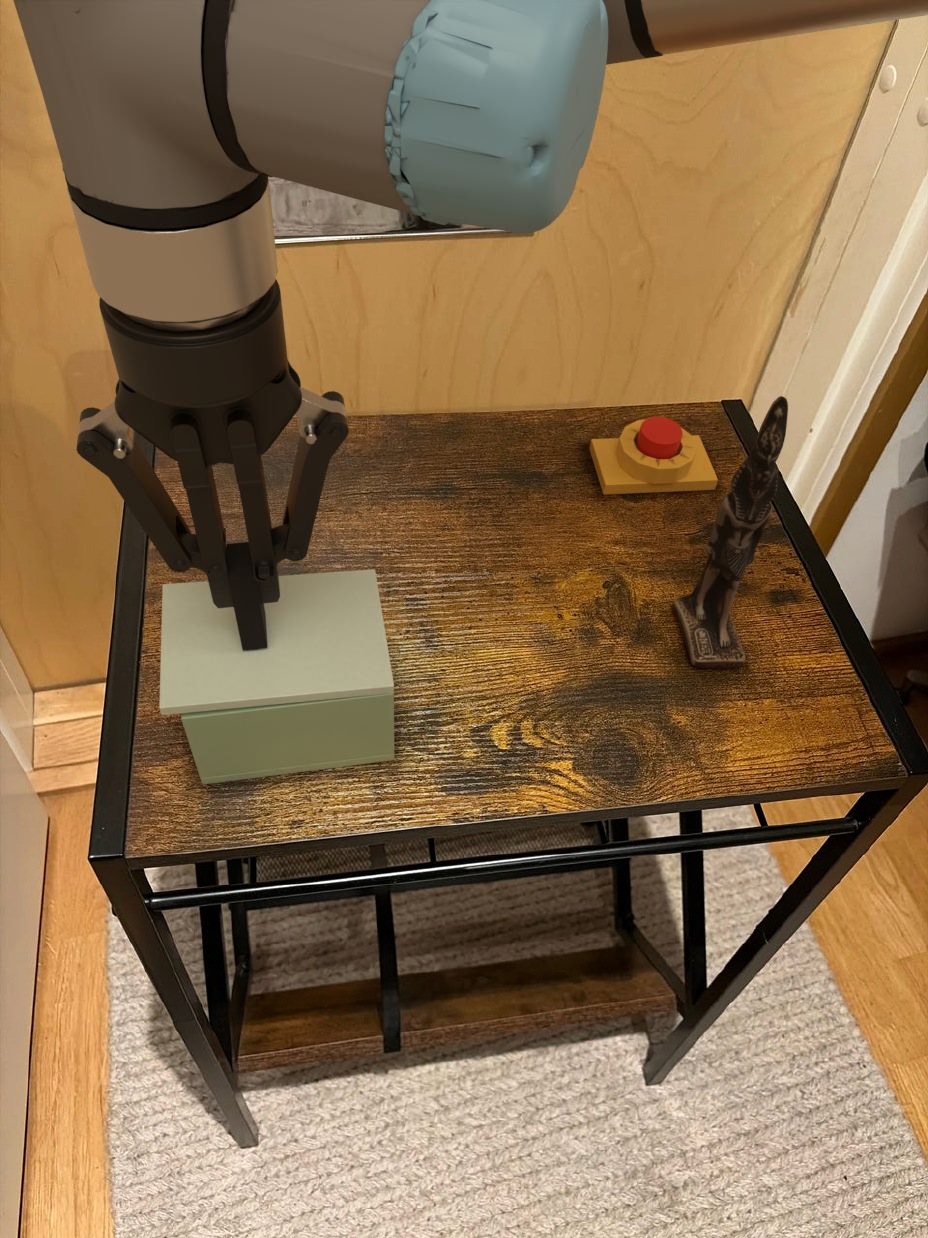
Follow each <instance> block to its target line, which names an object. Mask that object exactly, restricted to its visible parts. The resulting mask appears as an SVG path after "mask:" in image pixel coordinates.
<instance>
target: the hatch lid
mask: <svg viewBox="0 0 928 1238" xmlns="http://www.w3.org/2000/svg"><path fill="white" fill-rule="evenodd" d="M278 576H279V587H280V598H279V600H278V602H273V603H264V608H265V614H266V630H267V646H268V648H263V649H253V650H244V651H243V649H242V645H241V640H240V635H239V630H238V625H237V621H236V616H235V611H234V607H228V608H217V607H216V606H215V604H214V603H213V600H212V595H211V591H210V587H209V582H208V580H204V581H190V582H189V581H188V582H176V583H163V584H162V586H161V587H162V589H161V590H162V591H161V629H160V631H161V632H160V663H159V665H160V669H159V672H160V673H159V700H158V701H159V702H158V703H159V705H158V708H159V711H160V715H161V716H169V715H179V714H180V715H181V713H191V712H201V711H212V710H222V709H232V708H243V707H253V706H264V705H274V704H285V703H295V702H305V701H316V700H326V699H337V698H347V697H358V696H368V695H378V694H389V693H394V694H395V682H394V677H393V676H394V675H393V669H392V664H391V657H390V652H389V646H388V645H389V644H388V641H387V639H388V638H387V634H386V627H385V621H384V614H383V609H382V602H381V596H380V591H379V585H378V579H377V572H376V569H375V568H371V569H369V568H368V569H356V570H344V571H329V572H316V573H314V572H313V573H303V574H302V573H301V574H287V575H278Z"/></svg>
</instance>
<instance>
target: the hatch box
mask: <svg viewBox="0 0 928 1238" xmlns="http://www.w3.org/2000/svg"><path fill="white" fill-rule="evenodd" d="M180 721H181V724H182V726H183V729H184V733H185V735H186V739H187V742H188V746H189V748H190V752H191V754H192V758H193V760H194V763H195V767H196V770H197V772H198V776H199V778H200V782H201V785H211V784H218V783H227V782H233V781H241V780H250V779H257V778H258V779H259V778H266V777H273V776H281V775H289V774H297V773H305V772H312V771H320V770H328V769H334V768H345V767H353V766H358V765H366V764H375V763H383V762H390V761H394V760H395V692H394V693H389V694H378V695H368V696H358V697H347V698H337V699H326V700H316V701H305V702H295V703H285V704H274V705H264V706H253V707H243V708H232V709H222V710H212V711H201V712H191V713H180Z"/></svg>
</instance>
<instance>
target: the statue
mask: <svg viewBox="0 0 928 1238" xmlns="http://www.w3.org/2000/svg"><path fill="white" fill-rule="evenodd" d="M788 413H789V402H788V399H787V398H786V397H785V396H783V395H780V396H778V397H777V398H776V399H774V401H773V402H772V403H771V404H770V407H769V408H768V411H767V412H766V414H765V416H764V418H763V421H762V422H761V425H760V428H759V430H758V433H757V437H756V440H755V442H754V445H753V446H752V448H751V450H750V452H749V454H748V456H747V457H746V459H745V460H744V461H743V462H742V464H741V465H740V466H739V467H738V468H737V470H736V471H735V473H734V475H733V477H732V479H731V483H730V489H731V491H730V492H729V493H728V494H726V496H725V497H724V498H723V500H722V501H721V503H720V505H719V507H718V509H717V513H716V516H715V519H714V522H713V526H712V529H711V533H710V535H709V539H708V540H707V543H706V545H705V553H706V555H707V559H706V561H705V565H704V568H703V570H702V572H701V574H700V576H699V578H698V580H697V583H696V585H695V587H694V589H693V591H692V592H691V593H689V594H686V595H683V596H679V597H675V599H673V601H672V609H673V612H674V615H675V617H676V619H677V621H678V625H679V628H680V631H681V634H682V637H683V641H684V644H685V648H686V650H687V654H688V657H689V661H690V663H691V664H692V666H694V667H695V668H703V669H738V668H740V667H742V666H744V665H745V663H746V653H745V651H744V648H743V645H742V643H741V641H740V638H739V635H738V632H737V630H736V627H735V624H734V622H733V618H732V616H731V610H732V607H733V603H734V600H735V597H736V594H737V591H738V588H739V586H740V584H741V582H742V580H743V579H744V576H745V572H746V570H747V567H748V566H749V565H751V564H752V563H753V562H754V560H755V558H756V549H757V547H758V545H759V544H760V542H761V539H762V538H763V536H764V532H765V529H766V528H767V525H768V523H769V522H770V520H771V517H772V513H773V505H772V503H771V502H772V500H773V499H774V498H775V496H776V495H777V492H778V487H779V466H778V464H777V461H778V459H779V457H780V454H781V452H782V449H783V448H784V444H785V439H786V435H787V427H788V416H789V415H788Z"/></svg>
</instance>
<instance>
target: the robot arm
mask: <svg viewBox="0 0 928 1238" xmlns="http://www.w3.org/2000/svg"><path fill="white" fill-rule="evenodd" d="M12 1H13V4H14V7H15V11H16V13H17V16H18V20H19V23H20V27H21V29H22V33H23V36H24V40H25V43H26V45H27V49H28V52H29V55H30V58H31V62H32V65H33V68H34V71H35V76H36V77H37V82H38V84H39V87H40V91H41V95H42V98H43V101H44V105H45V109H46V112H47V116H48V119H49V122H50V125H51V129H52V133H53V136H54V140H55V143H56V147H57V150H58V154H59V157H60V158H59V159H60V162H61V164H62V172H63V174H64V179H65V183H66V187H67V189H66V190H67V193H68V197H69V201H70V205H71V208H72V212H73V216H74V221H75V223H76V227H77V231H78V234H79V238H80V243H81V246H82V250H83V253H84V256H85V260H86V265H87V268H88V269H87V270H88V272H89V275H90V280H91V283H92V286H93V288H94V290H95V292H96V294H97V295H98V297H99V300H98V301H99V302H98V303H99V310H100V314H101V318H102V321H103V325H104V329H105V332H106V335H107V339H108V344H109V347H110V351H111V355H112V357H113V358H112V359H113V362H114V366H115V369H116V373H117V377H118V380H117V383H116V385H115V397H114V401H113V402H111V403H109V405H107V406H106V407H104V408H103V409H100V408H97V407H93V406H92V407H86V408H85V409H83V410H81V412H80V415H79V423H78V430H77V431H78V432H77V441H76V452H77V455H79V456H80V457H81V458H82V459H83V460H84V461H86V462H87V463H89V464H90V465H91V466H93V467H94V468H96V469H97V470H98V471H100V472H101V473H102V474H103V475H105V476H106V477H107V478H108V479H109V480H110V482H111V484H112V485H113V486H114V488H115V489H116V491H117V492H118V494H119V495H120V497H121V498H122V501H124V503H125V504H126V506H127V507H128V509H129V510H130V512H131V513H132V515H133V517H135V519H136V521H137V522H138V524H139V526H140V527H141V528H142V530H143V531H144V532H145V534H146V536H147V537H148V539H149V540H150V542H151V543H152V544H153V546H154V548H155V549H156V551H157V552H158V554H159V555H160V556H161V558H162V560H163V561H164V562H165V564H166V565H167V567H168V568H169V570H171V571H172V572H174V573H185V572H188V571H189V570H190V569H191V568H192V569H197V570H200V571H202V572H204V574H205V575H206V578H207V581H208V582H209V587H210V591H211V595H212V600H213V603H214V604H215V606H216V607H217V608H228V607H234V611H235V616H236V621H237V625H238V630H239V635H240V640H241V645H242V649H243V651H244V650H253V649H263V648H268V646H267V630H266V614H265V608H264V603H273V602H278V600H279V598H280V587H279V576H280V575H279V570H278V565H279V563H280V562H282V561H285V560H289V561H290V562H301V561H303V560H304V559H305V558H306V557H307V555H308V551H309V547H310V543H311V539H312V534H313V530H314V526H315V523H316V518H317V513H318V510H319V505H320V502H321V498H322V493H323V488H324V484H325V480H326V476H327V472H328V469H329V468H328V467H329V464H330V460H331V459H332V458H333V456H334V455H335V453H336V452H337V451H338V449H339V448H340V447H341V445H342V444H343V443H344V442H345V440H346V438H347V437H348V436H349V423H348V418H347V412H346V404H345V400H344V396H343V395H342V394H341V393H340V392H339V391H335V390H332V391H326V392H325V393H323V394H322V395H319V394H317V393H315V392H312V391H310V390H308V389H306V388H304V387H302V383H301V378H300V377H299V374H298V372H297V371H296V370H295V369H294V368H293V366H292V364H291V363H290V361H289V358H288V350H287V340H286V332H285V322H284V311H283V302H282V293H281V287H280V284H279V282H278V279H277V276H278V273H279V269H278V268H279V267H278V259H277V248H276V238H275V229H274V228H275V227H274V218H273V208H272V207H273V206H272V197H271V188H270V179H269V178H277V179H281V180H285V181H288V182H292V183H296V184H299V185H302V186H306V187H311V188H314V189H317V190H321V191H324V192H329V193H332V194H335V195H340V196H344V197H347V198H352V199H355V200H358V201H362V202H366V203H370V204H373V205H377V206H381V207H384V208H388V209H392V210H396V211H399V212H404V213H407V214H410V215H413V216H418V217H420V218H421V219H423V220H424V221H427V222H431V223H435V224H438V225H442V226H446V225H448V224H450V225H455V226H462V225H467V226H474V227H480V228H485V229H490V230H491V229H492V230H498V231H503V232H509V233H514V234H521V235H525V234H531V233H532V234H533V233H536V232H540V231H542V230H544V229H545V228H547V227H549V226H551V224H553V223H554V222H555V221H556V220H557V219H558V218H559V217H560V215H562V213H563V212H564V210H565V209H566V207H567V205H568V204H569V202H570V200H571V198H572V196H573V194H574V191H575V189H576V185H577V181H578V177H579V173H580V171H581V169H582V168H584V165H585V162H586V160H587V157H588V153H589V151H590V146H591V142H592V138H593V137H594V132H595V127H596V122H597V120H598V119H597V118H598V115H599V109H600V105H601V99H602V94H603V90H604V89H603V88H604V82H605V76H606V68H607V65H613V64H614V65H615V64H620V63H628V62H634V61H639V60H646V59H652V58H659V57H663V56H665V55H671V54H677V53H684V52H690V51H698V50H703V49H710V48H718V47H723V46H730V45H736V44H737V45H738V44H743V43H744V44H745V43H751V42H759V41H763V40H770V39H777V38H778V39H779V38H784V37H790V36H796V35H797V36H798V35H804V34H810V33H811V34H812V33H817V32H824V31H830V30H832V31H833V30H838V29H845V28H850V27H857V26H865V25H871V24H878V23H884V22H891V21H892V22H893V21H896V20H897V21H898V20H905V19H911V18H912V19H913V18H916V17H917V18H918V17H924V16H928V0H12ZM294 416H296V423H297V434H298V435H299V438H298V443H297V448H296V453H295V459H294V463H293V468H292V473H291V478H290V482H289V488H288V492H287V496H286V500H285V501H286V502H285V507H284V511H283V516H282V520H281V521H282V522H281V523H282V524H280V525H278V526H274V527H272V520H271V513H270V505H269V499H268V492H267V486H266V484H267V483H266V479H265V472H264V464H263V457H262V456H263V455H264V454H265V453H266V452H267V451H268V450H269V449H270V448H271V447H272V446H273V444H274V442H275V441H277V439H278V438H279V436H280V435H281V434H282V432H283V431H284V430H285V429H286V427H287V426H288V424H289V423H290V422H291V420H293V418H294ZM135 432H136V433H137V434H138V435H140V436H141V437H142V438H144V439H145V440H146V441H148V442H149V443H150V444H152V445H153V446H154V447H155V448H156V449H158V450H159V451H161V452H162V453H163V454H165V455H166V456H167V457H169V458H170V459H172V460H173V461H175V462H177V465H178V470H179V474H180V478H181V482H182V486H183V489H185V492H186V497H187V501H188V506H189V510H190V514H191V519H192V523H193V528H194V531H195V533H192V531H191V529H190V527H189V525H188V524H187V522H186V520H185V518H184V517H183V516H182V514H181V512H180V511H179V509H178V507H177V506H176V504H175V503H174V501H173V499H172V498H171V496H170V494H169V493H168V491H167V489H166V488H165V486H164V484H163V482H162V481H161V479H160V478H159V477H158V474H157V473H156V471H155V470H154V468H153V466H152V464H151V463H150V462H149V460H148V458H147V457H146V455H145V453H144V451H143V450H142V449H141V447H140V445H139V444H138V442H137V441H136V439H135ZM218 464H227V465H233V468H234V474H235V480H236V484H237V485H238V491H239V496H240V502H241V509H242V514H243V519H244V525H245V530H246V536H247V541H243V542H231V543H227V529H226V527H225V526H224V520H223V515H222V510H221V505H220V500H219V494H218V489H217V484H216V479H215V475H214V470H213V469H214V468H213V466H215V465H218Z"/></svg>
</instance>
